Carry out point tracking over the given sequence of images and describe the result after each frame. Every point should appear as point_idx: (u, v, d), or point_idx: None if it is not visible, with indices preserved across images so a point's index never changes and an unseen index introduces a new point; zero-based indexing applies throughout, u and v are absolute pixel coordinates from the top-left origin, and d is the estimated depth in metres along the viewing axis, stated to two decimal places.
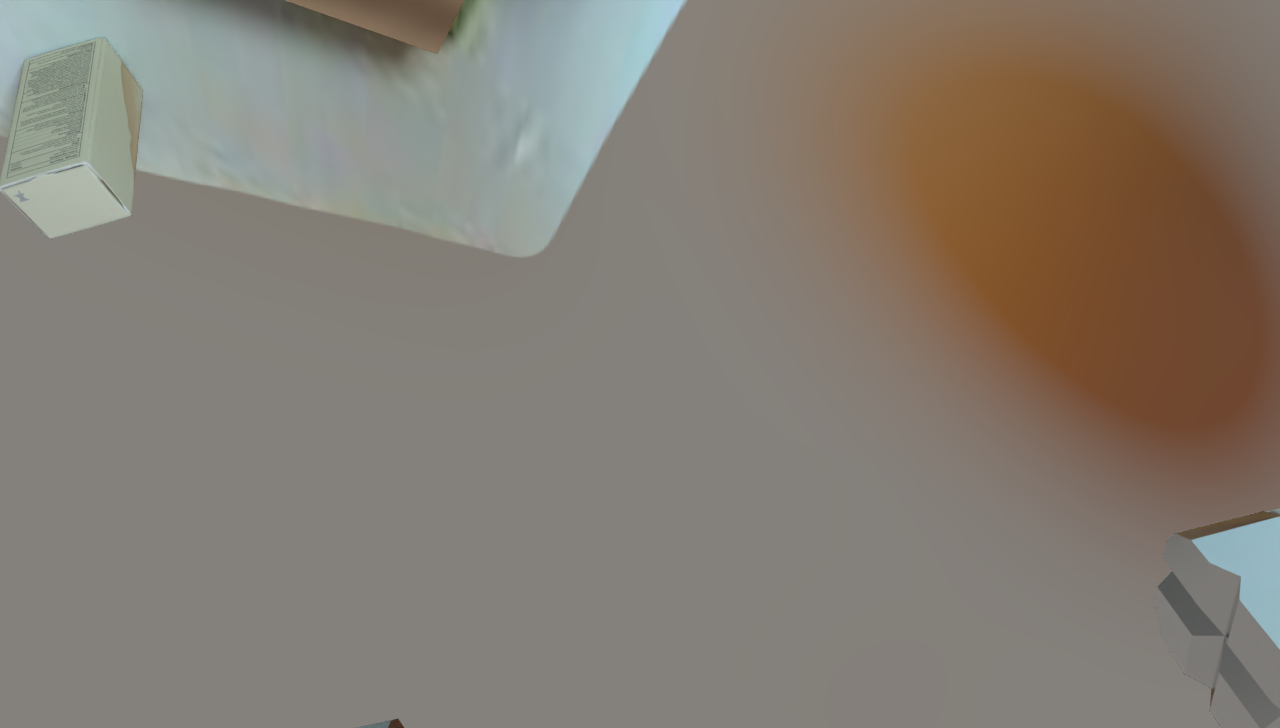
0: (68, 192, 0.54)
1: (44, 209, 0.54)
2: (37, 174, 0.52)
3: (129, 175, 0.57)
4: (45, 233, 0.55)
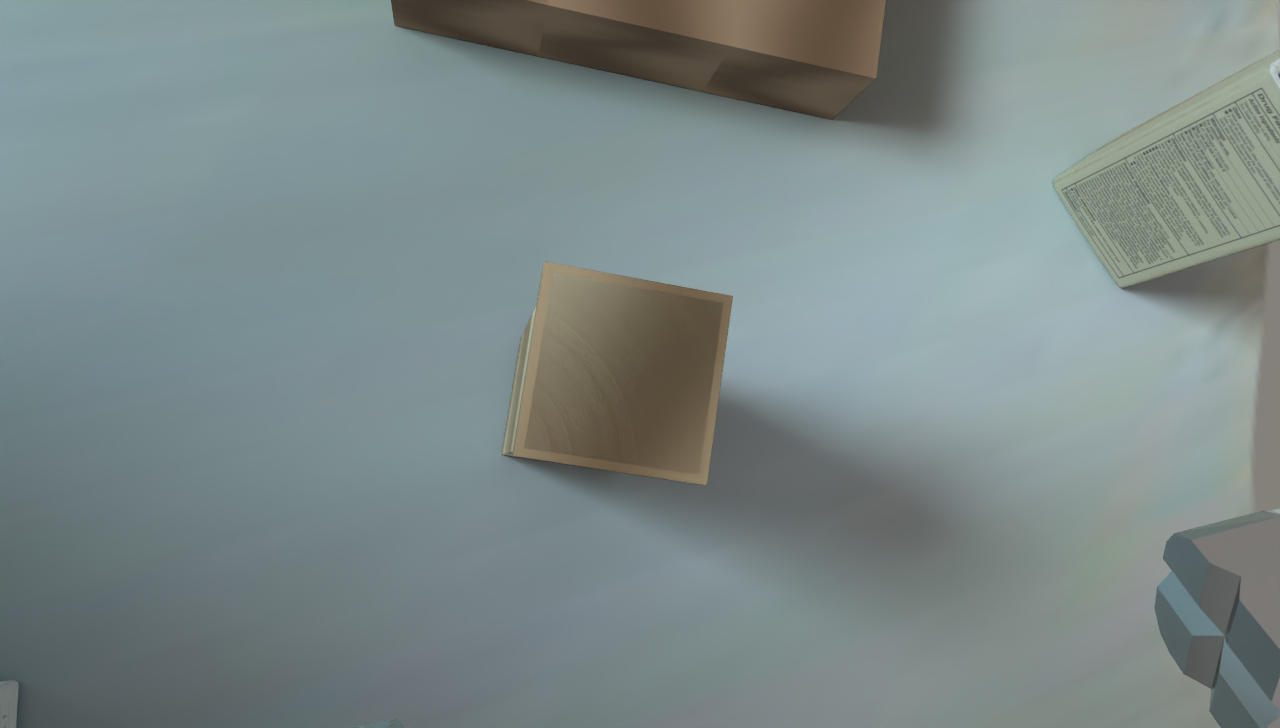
0: None
1: None
2: None
3: None
4: None
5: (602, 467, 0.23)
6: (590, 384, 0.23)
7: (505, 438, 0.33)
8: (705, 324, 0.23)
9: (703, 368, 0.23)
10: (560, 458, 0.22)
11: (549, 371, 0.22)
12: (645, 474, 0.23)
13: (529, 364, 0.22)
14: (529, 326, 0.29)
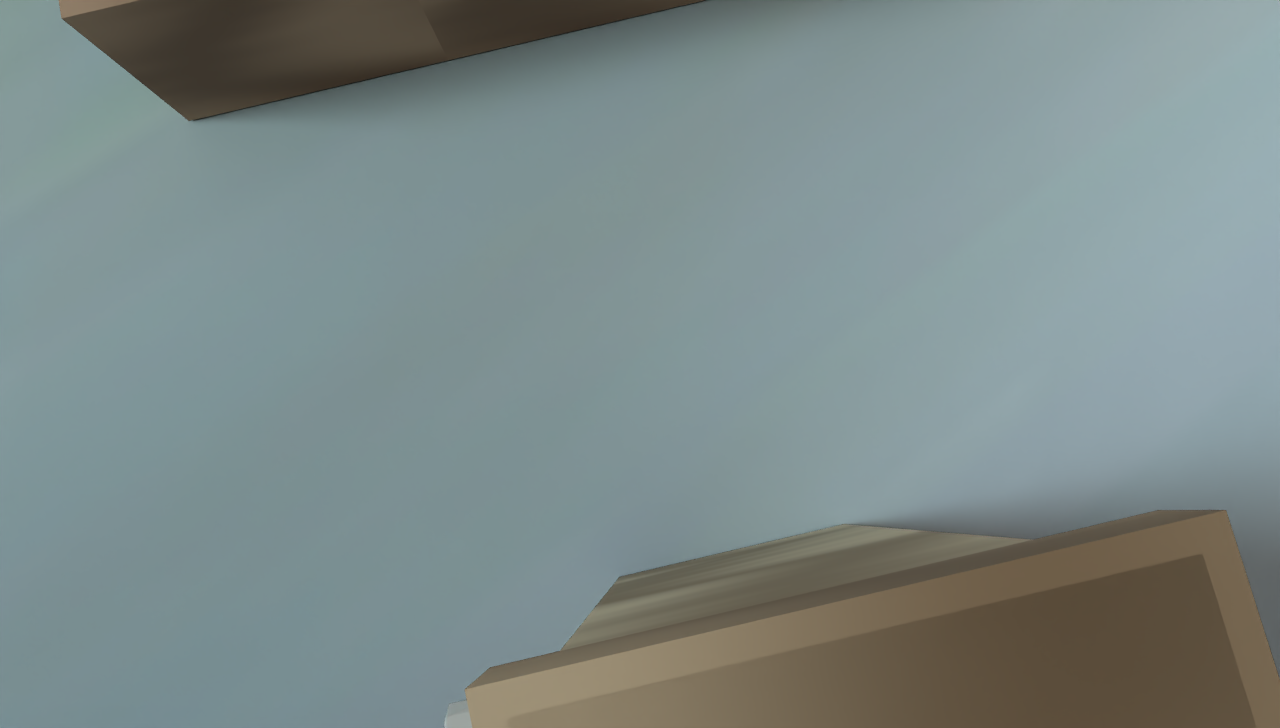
0: None
1: None
2: None
3: None
4: None
5: None
6: None
7: None
8: (1172, 670, 0.06)
9: None
10: None
11: None
12: None
13: None
14: None
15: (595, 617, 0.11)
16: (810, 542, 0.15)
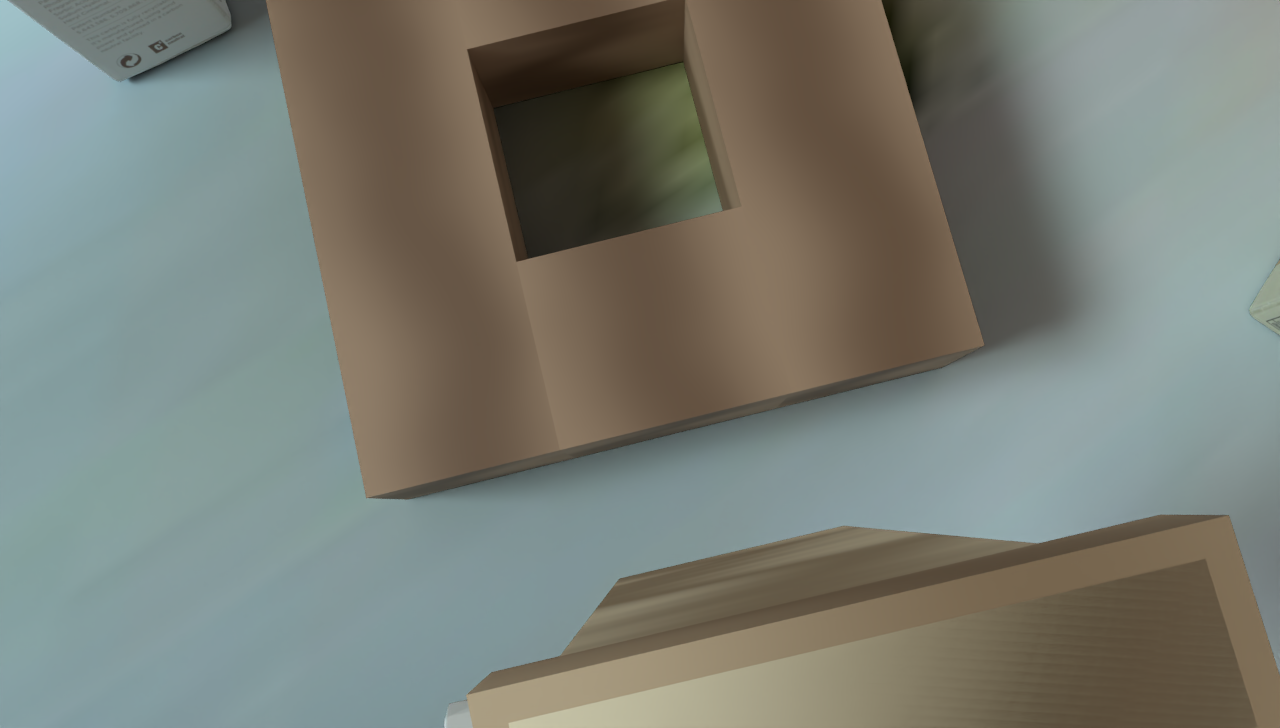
0: None
1: None
2: None
3: None
4: None
5: None
6: None
7: None
8: (1176, 676, 0.06)
9: None
10: None
11: None
12: None
13: None
14: None
15: (596, 620, 0.11)
16: (810, 544, 0.15)
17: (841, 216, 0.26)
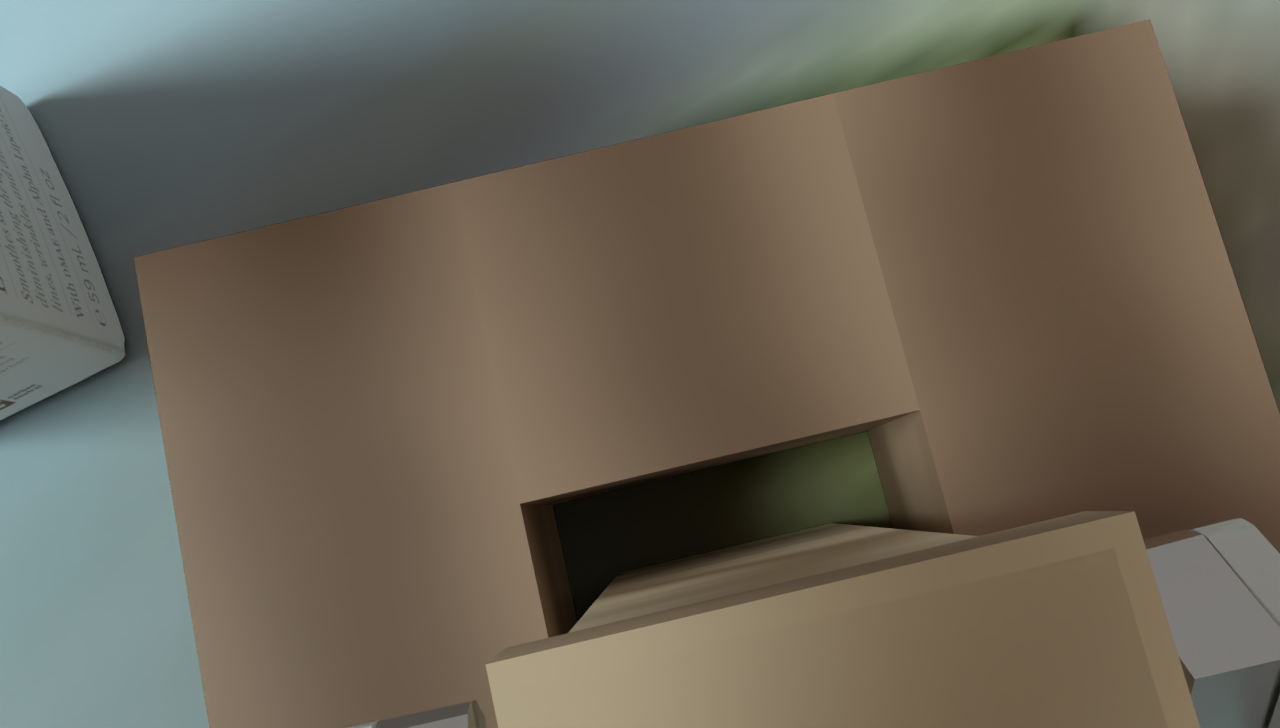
0: None
1: None
2: None
3: None
4: None
5: None
6: None
7: None
8: (1087, 647, 0.07)
9: None
10: None
11: None
12: None
13: None
14: None
15: (596, 608, 0.12)
16: (797, 540, 0.16)
17: None
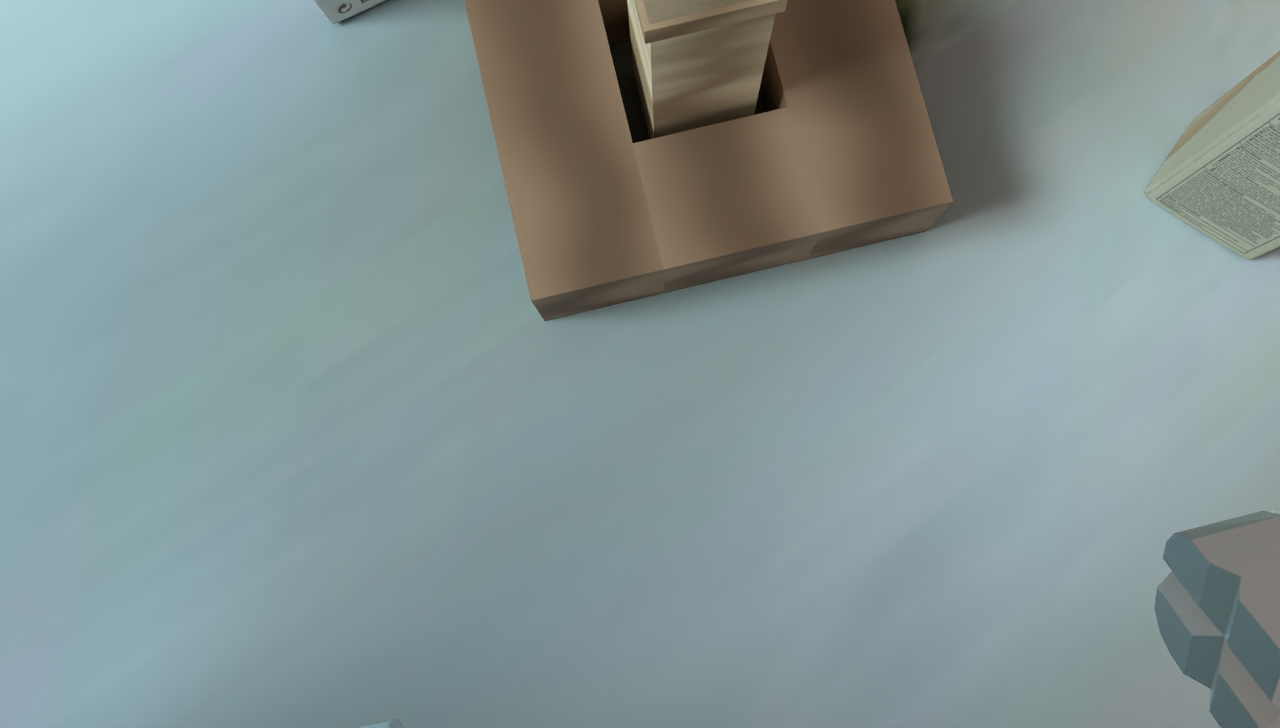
0: None
1: None
2: None
3: None
4: None
5: (709, 15, 0.30)
6: None
7: None
8: None
9: None
10: (677, 20, 0.30)
11: None
12: (741, 7, 0.30)
13: None
14: (630, 22, 0.38)
15: None
16: None
17: (856, 114, 0.38)
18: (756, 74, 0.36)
